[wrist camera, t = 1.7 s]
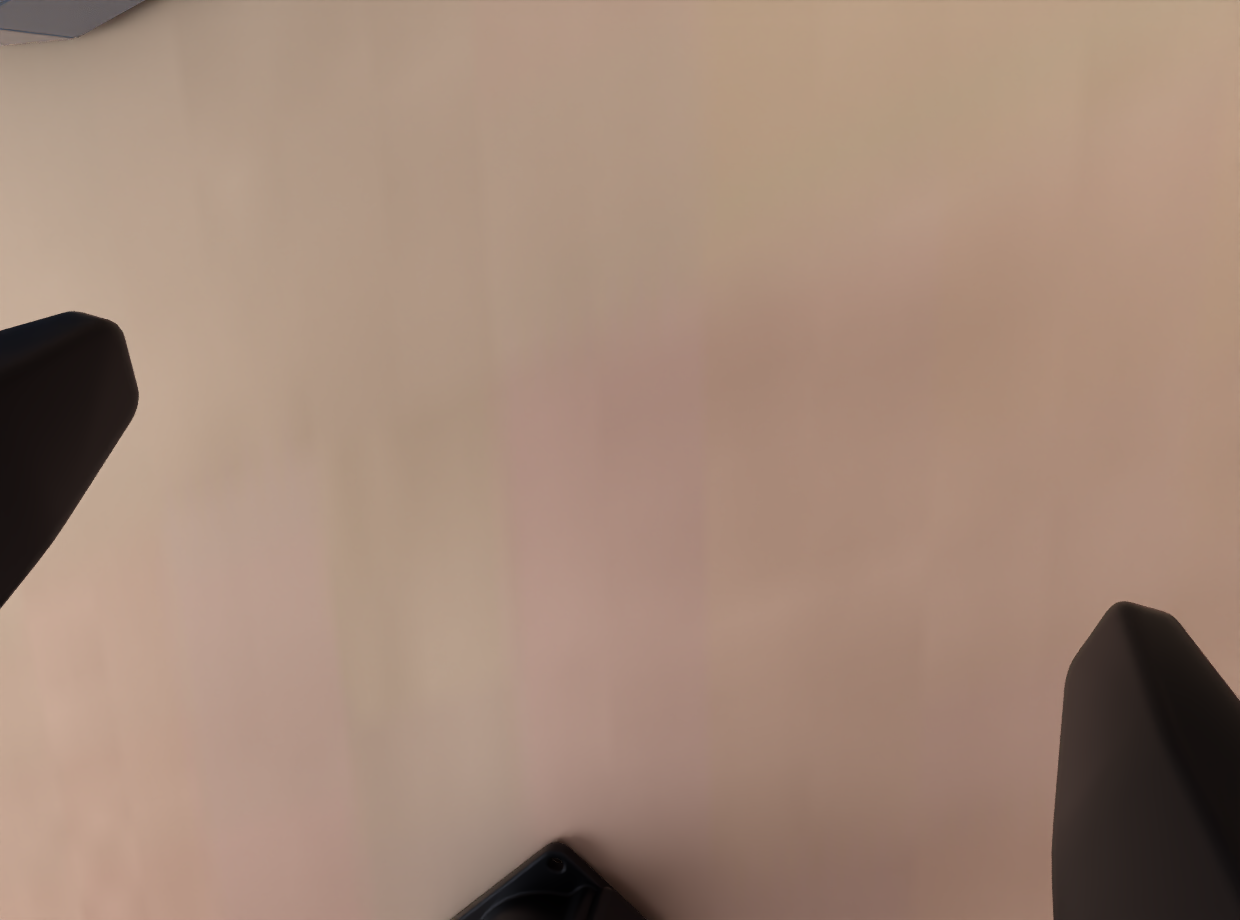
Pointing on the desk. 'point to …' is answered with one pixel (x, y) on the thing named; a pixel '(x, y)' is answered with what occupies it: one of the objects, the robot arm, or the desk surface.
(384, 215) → the desk surface
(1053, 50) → the desk surface
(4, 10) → the bowl
